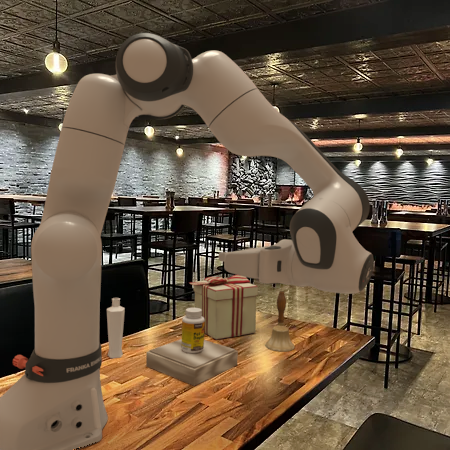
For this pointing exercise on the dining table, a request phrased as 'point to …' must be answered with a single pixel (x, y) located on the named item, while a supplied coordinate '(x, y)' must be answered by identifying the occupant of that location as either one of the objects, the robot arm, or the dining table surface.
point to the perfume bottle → (115, 328)
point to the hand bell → (280, 329)
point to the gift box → (227, 305)
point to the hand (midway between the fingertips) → (234, 253)
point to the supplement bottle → (193, 331)
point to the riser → (191, 361)
